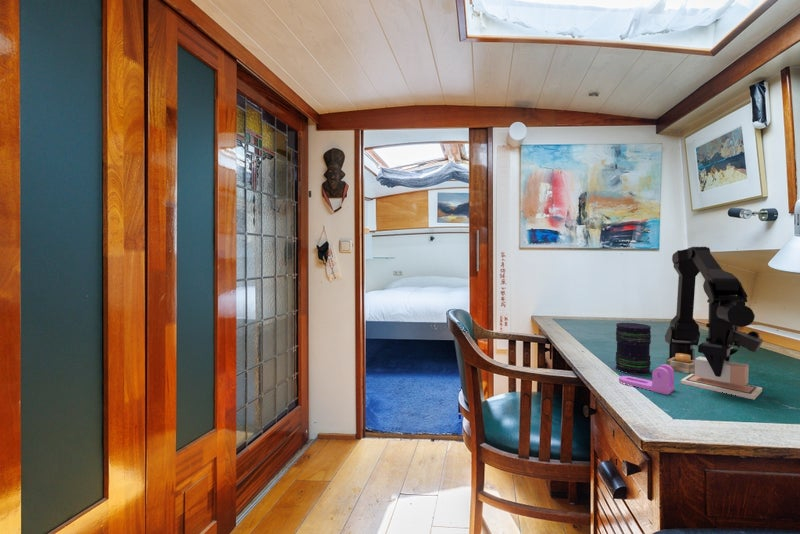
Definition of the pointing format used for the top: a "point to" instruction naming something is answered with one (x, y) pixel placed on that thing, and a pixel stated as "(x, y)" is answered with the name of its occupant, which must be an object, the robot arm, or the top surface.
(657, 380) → the bracket
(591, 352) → the top surface
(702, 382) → the picture board
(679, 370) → the button block
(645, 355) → the storage jar
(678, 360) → the button
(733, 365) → the two-tone rectangular block
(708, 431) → the top surface
